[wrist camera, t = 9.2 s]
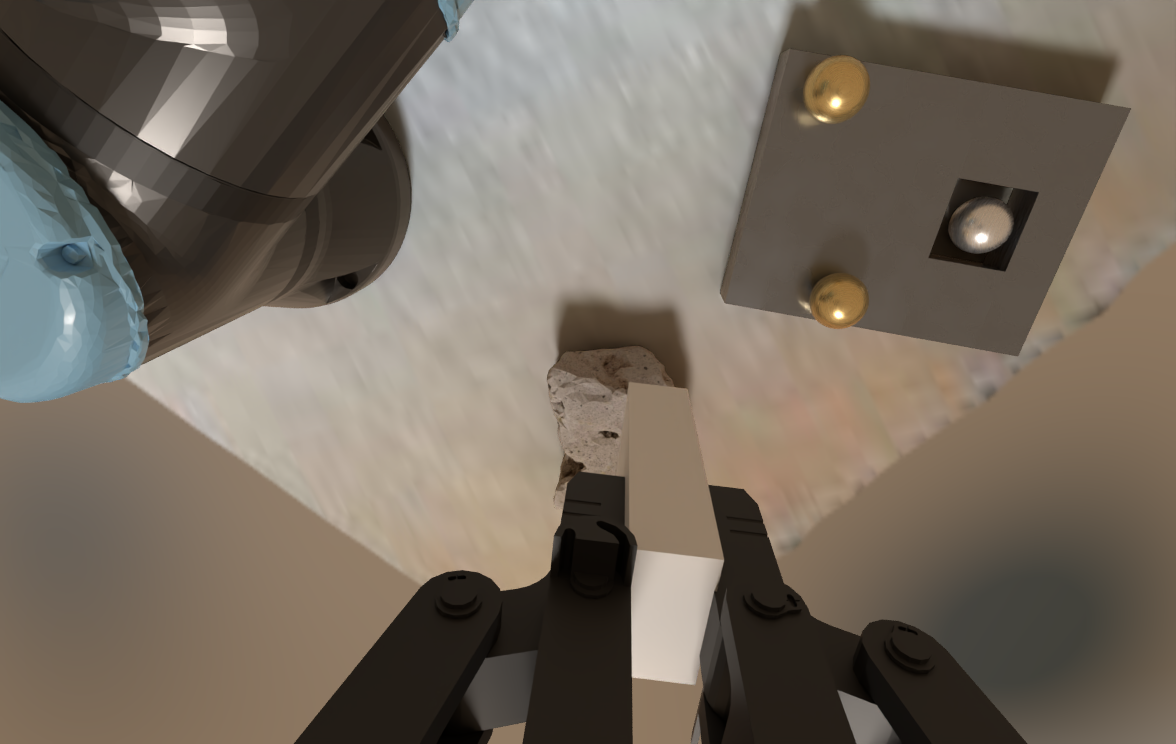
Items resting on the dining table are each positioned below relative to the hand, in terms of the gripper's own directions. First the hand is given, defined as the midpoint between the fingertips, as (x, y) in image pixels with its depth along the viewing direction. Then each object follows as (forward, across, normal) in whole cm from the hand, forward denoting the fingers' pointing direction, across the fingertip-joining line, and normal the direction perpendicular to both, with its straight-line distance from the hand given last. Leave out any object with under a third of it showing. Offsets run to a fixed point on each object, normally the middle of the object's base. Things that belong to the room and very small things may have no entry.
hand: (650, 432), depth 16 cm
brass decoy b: (+21, +12, -1) cm, 24 cm away
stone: (+26, 0, -13) cm, 29 cm away
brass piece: (+21, +9, +10) cm, 25 cm away
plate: (+25, +15, +4) cm, 29 cm away
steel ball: (+23, +19, +4) cm, 31 cm away
